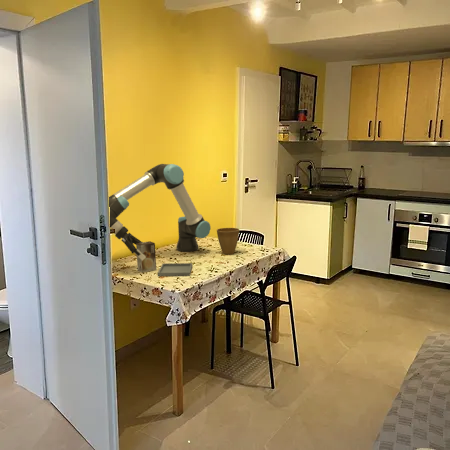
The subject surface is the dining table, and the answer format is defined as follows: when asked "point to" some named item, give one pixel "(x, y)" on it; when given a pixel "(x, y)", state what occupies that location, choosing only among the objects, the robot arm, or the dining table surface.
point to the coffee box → (150, 255)
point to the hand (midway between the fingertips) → (146, 255)
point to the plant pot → (228, 239)
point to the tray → (175, 269)
